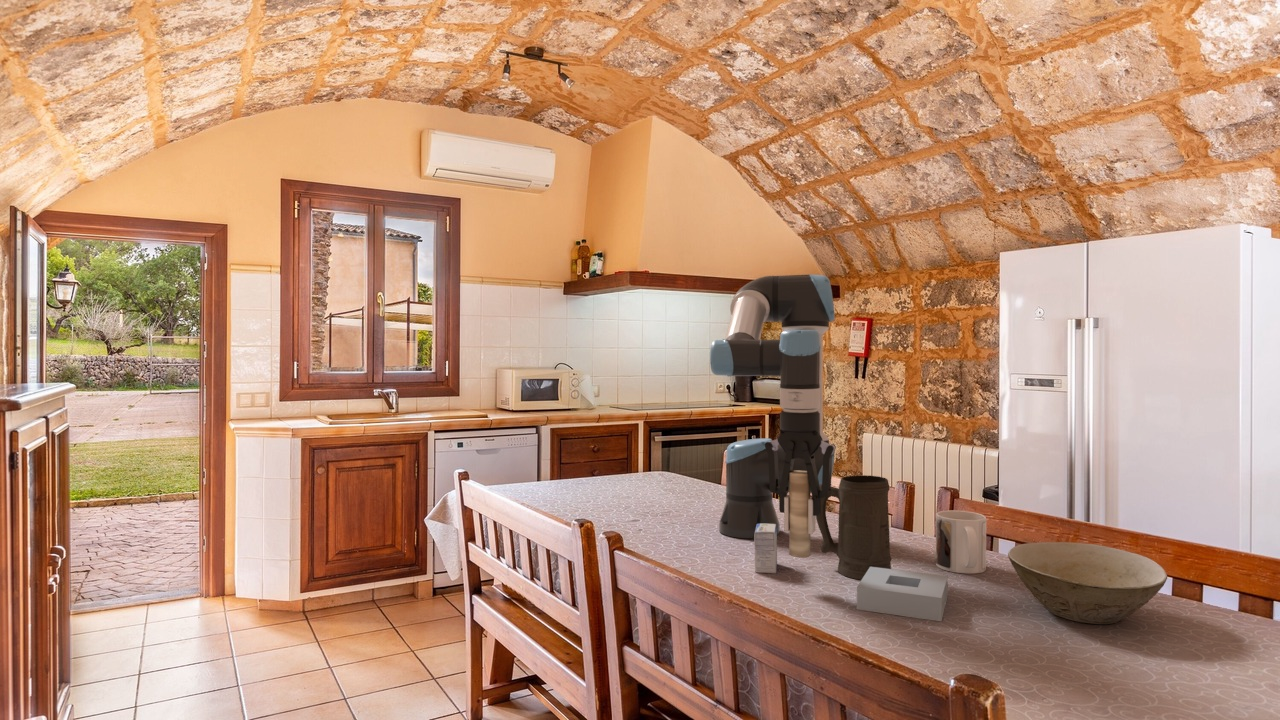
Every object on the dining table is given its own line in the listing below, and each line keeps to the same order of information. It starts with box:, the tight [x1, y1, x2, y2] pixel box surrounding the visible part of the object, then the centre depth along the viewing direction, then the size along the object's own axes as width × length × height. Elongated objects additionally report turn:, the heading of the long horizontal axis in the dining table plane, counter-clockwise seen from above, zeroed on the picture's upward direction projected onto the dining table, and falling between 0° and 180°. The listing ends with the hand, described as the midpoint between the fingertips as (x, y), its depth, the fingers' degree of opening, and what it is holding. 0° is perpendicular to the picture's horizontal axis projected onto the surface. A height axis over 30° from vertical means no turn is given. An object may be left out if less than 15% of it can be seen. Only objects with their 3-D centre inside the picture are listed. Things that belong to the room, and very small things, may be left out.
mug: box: [935, 509, 987, 575], centre depth 161 cm, size 10×12×11 cm
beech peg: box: [788, 471, 812, 559], centre depth 148 cm, size 4×4×16 cm
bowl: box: [1007, 541, 1168, 625], centre depth 133 cm, size 24×24×10 cm
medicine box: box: [753, 523, 778, 574], centre depth 162 cm, size 8×4×9 cm, turn 168°
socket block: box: [856, 567, 949, 622], centre depth 139 cm, size 14×14×4 cm
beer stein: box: [816, 474, 892, 581], centre depth 159 cm, size 15×11×20 cm
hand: (799, 530), depth 148 cm, fingers closed on beech peg, 4 cm apart
